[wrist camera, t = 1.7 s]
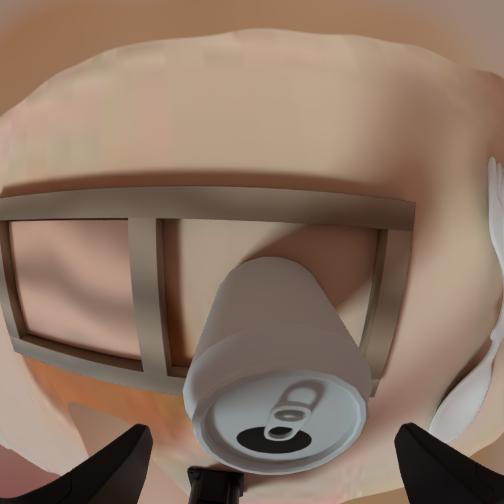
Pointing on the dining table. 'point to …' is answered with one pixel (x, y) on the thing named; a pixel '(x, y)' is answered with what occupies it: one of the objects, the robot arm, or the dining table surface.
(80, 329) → the ladder rack
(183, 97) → the dining table surface
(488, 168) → the spoon
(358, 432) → the can
